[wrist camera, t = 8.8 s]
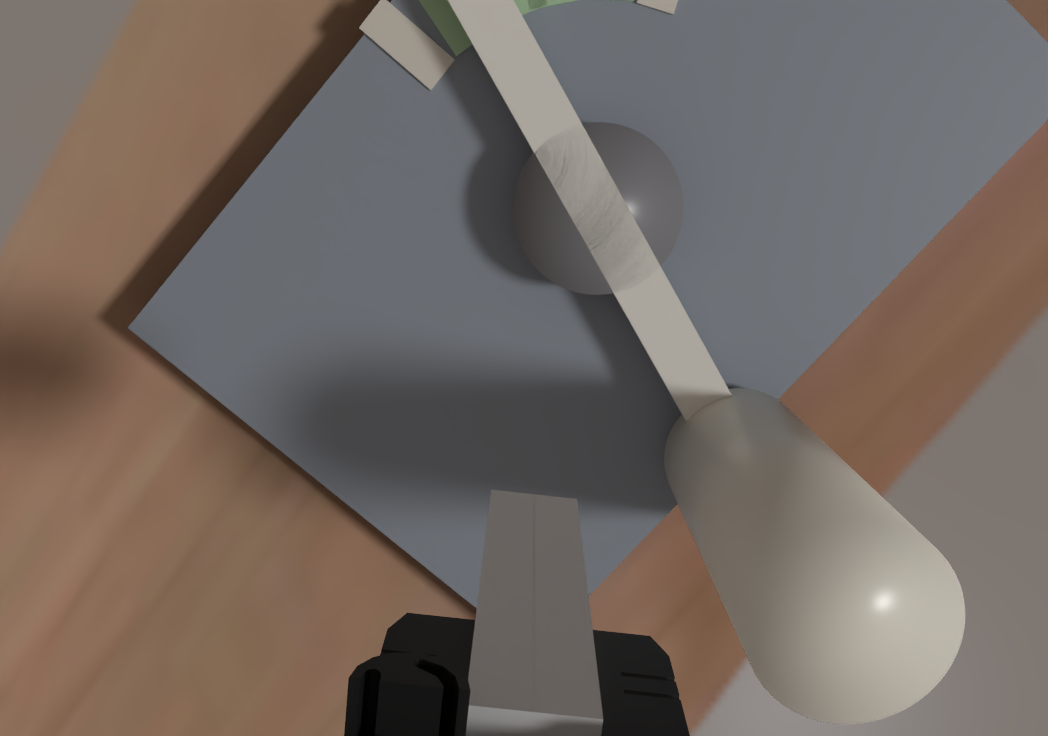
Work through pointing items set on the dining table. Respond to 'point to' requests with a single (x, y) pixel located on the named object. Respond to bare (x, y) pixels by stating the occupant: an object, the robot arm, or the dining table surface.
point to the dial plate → (546, 308)
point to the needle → (728, 424)
